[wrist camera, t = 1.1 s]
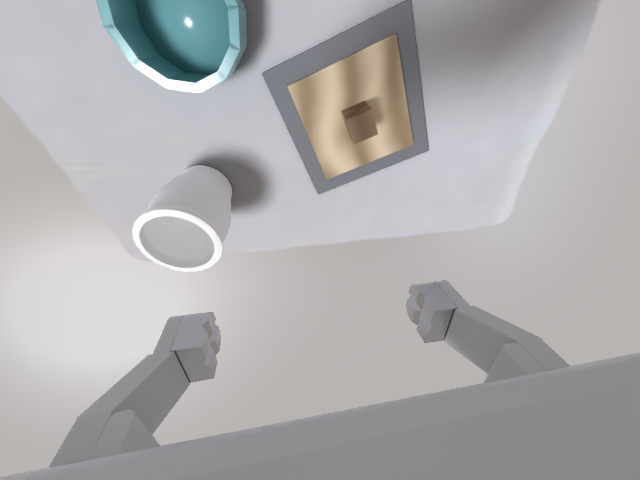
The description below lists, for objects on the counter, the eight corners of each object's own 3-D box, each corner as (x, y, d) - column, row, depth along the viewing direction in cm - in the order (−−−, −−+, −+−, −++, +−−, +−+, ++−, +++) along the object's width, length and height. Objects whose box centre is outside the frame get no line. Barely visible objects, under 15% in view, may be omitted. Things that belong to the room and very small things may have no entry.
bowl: (200, -96, 25) (179, -125, 20) (266, 55, 33) (262, 60, 29) (98, -27, 28) (55, -38, 23) (182, 98, 36) (165, 110, 31)
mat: (409, -2, 31) (410, -2, 31) (427, 149, 44) (428, 150, 43) (262, 73, 35) (261, 73, 34) (317, 193, 47) (318, 194, 47)
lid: (394, 33, 33) (409, 34, 29) (411, 142, 42) (424, 155, 38) (287, 85, 35) (287, 93, 31) (326, 177, 45) (329, 193, 41)
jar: (250, 183, 45) (236, 238, 33) (221, 222, 49) (200, 282, 38) (189, 144, 40) (148, 193, 28) (163, 191, 44) (119, 250, 33)
